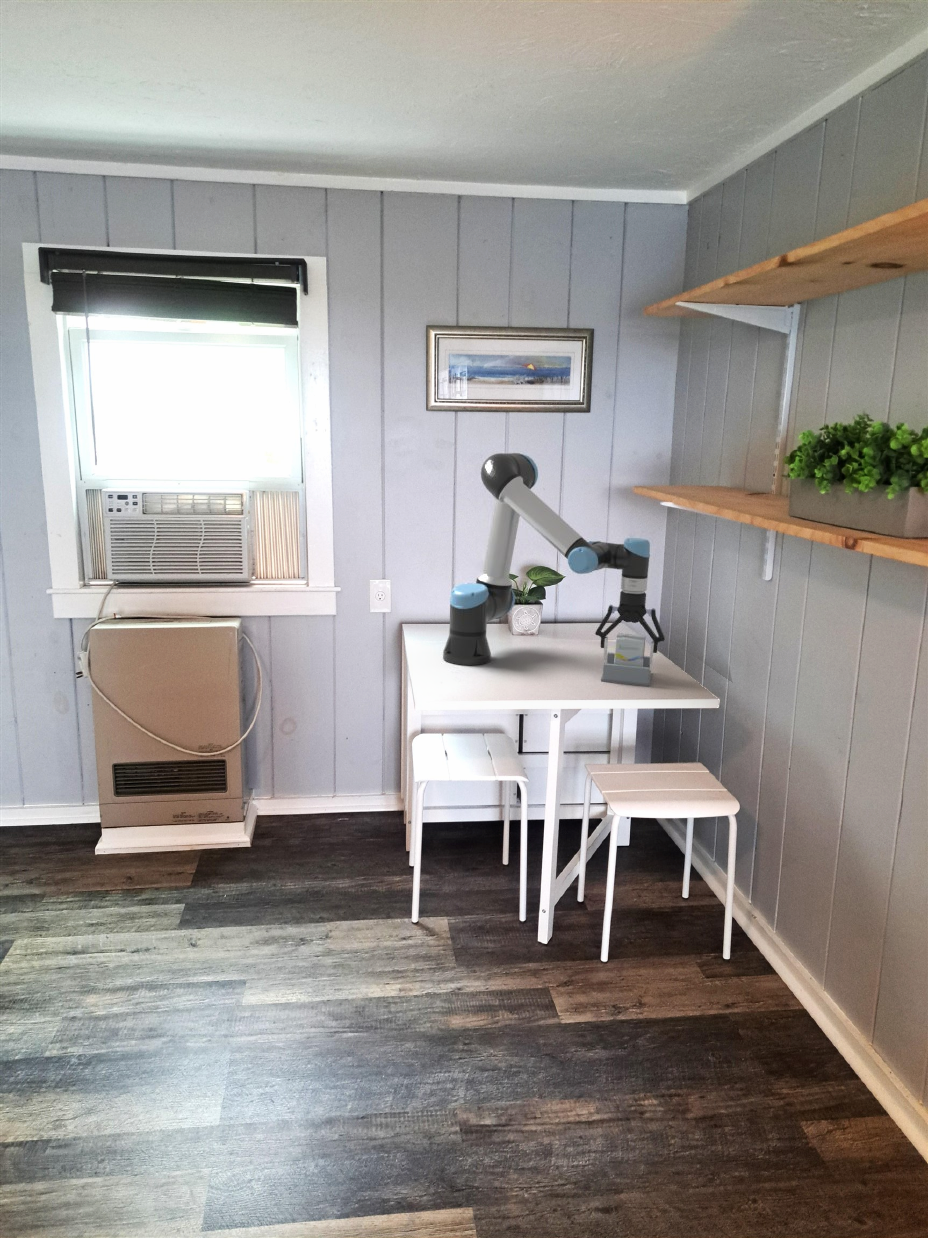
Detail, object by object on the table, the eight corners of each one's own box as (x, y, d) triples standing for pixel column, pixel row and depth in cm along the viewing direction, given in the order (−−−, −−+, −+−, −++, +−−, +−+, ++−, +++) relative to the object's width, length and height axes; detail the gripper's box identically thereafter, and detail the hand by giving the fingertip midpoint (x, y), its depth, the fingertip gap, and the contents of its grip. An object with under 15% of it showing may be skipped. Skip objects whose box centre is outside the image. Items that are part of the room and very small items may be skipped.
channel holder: (600, 681, 247) (602, 664, 246) (605, 668, 262) (606, 652, 261) (649, 686, 244) (650, 669, 243) (650, 672, 258) (652, 656, 257)
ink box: (641, 679, 248) (645, 640, 245) (612, 677, 250) (615, 638, 247) (642, 672, 256) (646, 634, 253) (614, 669, 258) (617, 632, 255)
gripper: (589, 589, 247) (584, 659, 251) (676, 596, 241) (670, 668, 245) (592, 585, 254) (587, 653, 258) (677, 592, 248) (670, 661, 253)
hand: (627, 661), depth 252 cm, fingers open, 13 cm apart
